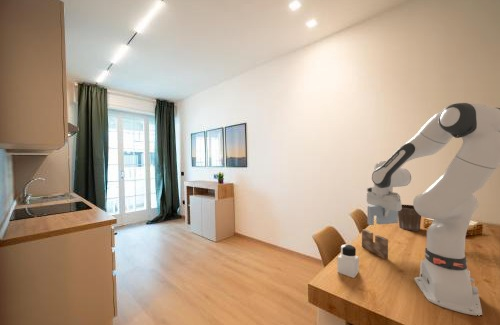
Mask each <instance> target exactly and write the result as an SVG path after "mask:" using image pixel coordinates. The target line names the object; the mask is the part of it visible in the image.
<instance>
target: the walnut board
mask: <svg viewBox="0 0 500 325" xmlns="http://www.w3.org/2000/svg"><path fill="white" fill-rule="evenodd" d="M361 247H362V248H364V249H366V250H367V251H369V252H371V253H373V254H375V255H377V256H378V257H380V258H382V259H384V260H388V258H389V239H388V238H385V237H383V236H381V235H379V234H375V235H374V232H372V231H370V230H367V229H366V228H365V229H361Z"/></svg>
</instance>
